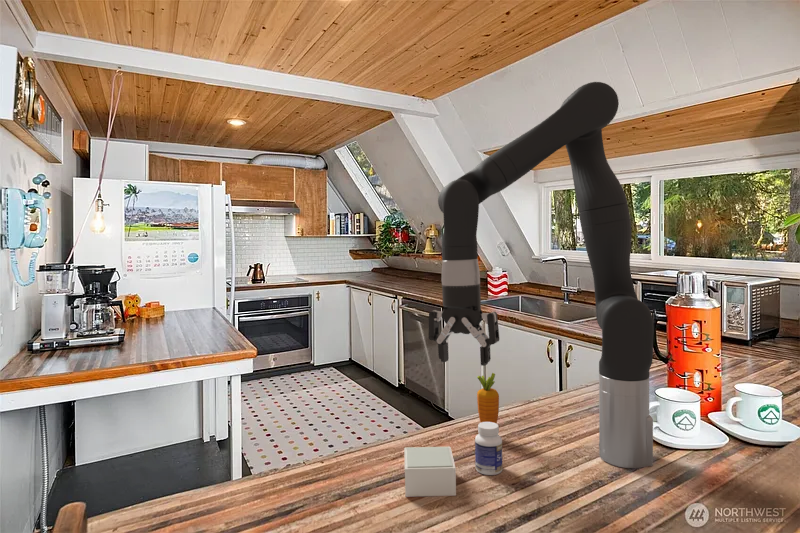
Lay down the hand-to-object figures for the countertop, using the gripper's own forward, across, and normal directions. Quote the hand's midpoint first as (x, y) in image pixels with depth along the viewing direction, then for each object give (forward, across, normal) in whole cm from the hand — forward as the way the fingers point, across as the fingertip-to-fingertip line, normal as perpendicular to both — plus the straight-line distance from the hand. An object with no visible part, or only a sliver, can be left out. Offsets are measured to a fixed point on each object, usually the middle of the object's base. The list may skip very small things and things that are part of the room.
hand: (464, 363), depth 97 cm
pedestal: (+20, +3, +11) cm, 23 cm away
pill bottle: (+21, -5, 0) cm, 21 cm away
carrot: (+21, +1, -14) cm, 25 cm away
